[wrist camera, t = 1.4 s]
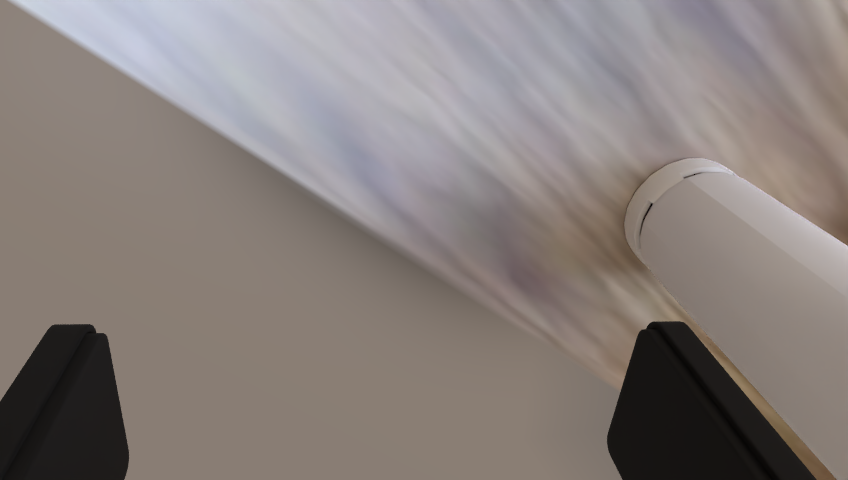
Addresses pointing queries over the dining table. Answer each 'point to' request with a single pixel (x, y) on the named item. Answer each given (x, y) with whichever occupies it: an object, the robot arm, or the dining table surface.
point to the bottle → (755, 291)
